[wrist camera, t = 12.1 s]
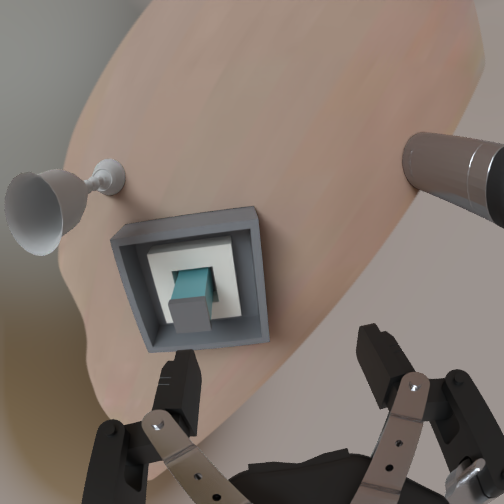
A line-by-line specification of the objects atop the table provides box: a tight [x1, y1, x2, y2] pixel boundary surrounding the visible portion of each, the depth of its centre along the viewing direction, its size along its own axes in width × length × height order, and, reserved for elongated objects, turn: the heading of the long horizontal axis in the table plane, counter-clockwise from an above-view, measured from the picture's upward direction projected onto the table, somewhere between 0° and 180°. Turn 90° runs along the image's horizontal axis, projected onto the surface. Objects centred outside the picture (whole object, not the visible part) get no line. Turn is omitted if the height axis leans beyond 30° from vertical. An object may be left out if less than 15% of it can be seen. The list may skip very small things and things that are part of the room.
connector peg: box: [168, 267, 213, 334], centre depth 36 cm, size 4×4×10 cm
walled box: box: [110, 206, 270, 353], centre depth 38 cm, size 18×18×6 cm
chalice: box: [5, 159, 125, 256], centre depth 26 cm, size 7×7×18 cm
